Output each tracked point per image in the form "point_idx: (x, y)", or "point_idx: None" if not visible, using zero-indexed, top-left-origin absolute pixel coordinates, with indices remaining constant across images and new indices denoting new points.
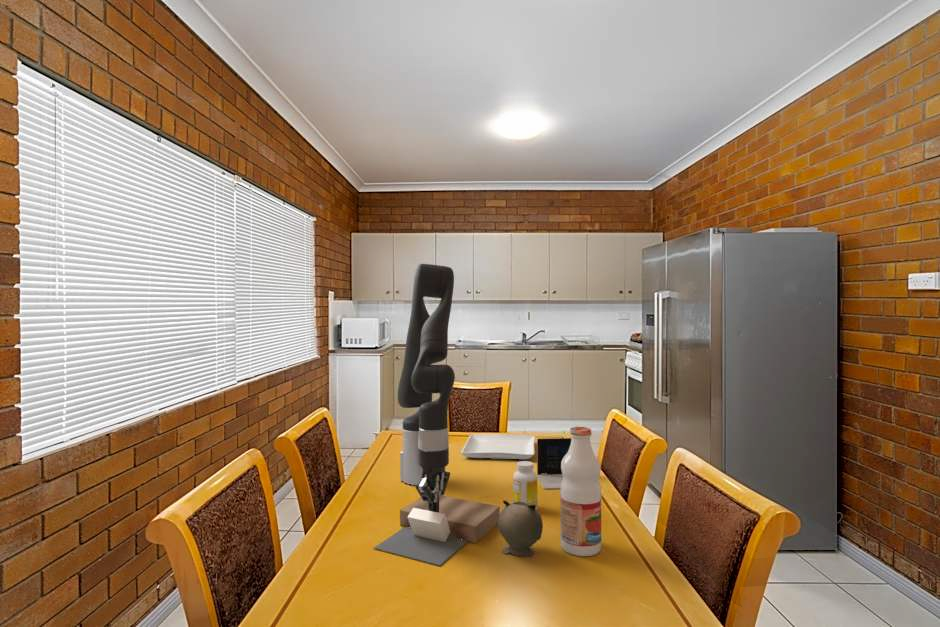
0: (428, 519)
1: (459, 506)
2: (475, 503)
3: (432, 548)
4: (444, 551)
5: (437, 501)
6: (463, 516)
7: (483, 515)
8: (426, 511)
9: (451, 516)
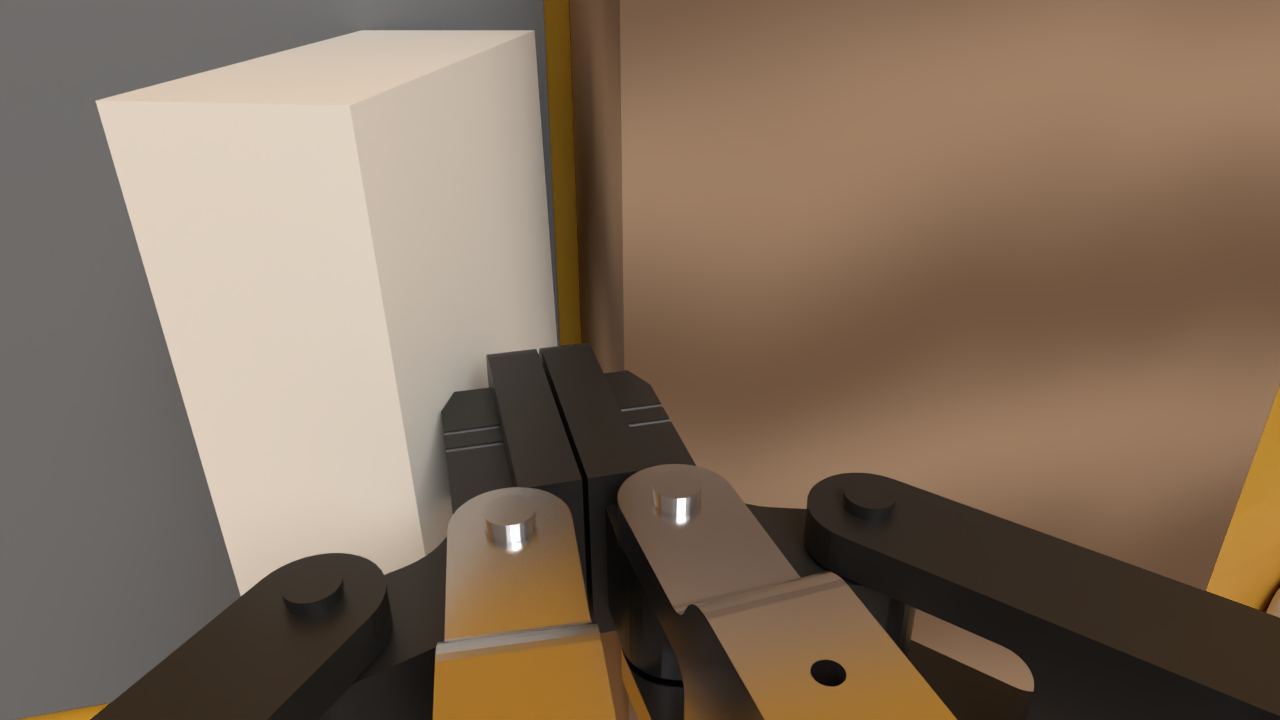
0: (251, 532)
1: (1090, 368)
2: (1210, 467)
3: (203, 472)
4: (240, 595)
5: (599, 625)
6: None
7: None
8: (379, 437)
9: (760, 474)
